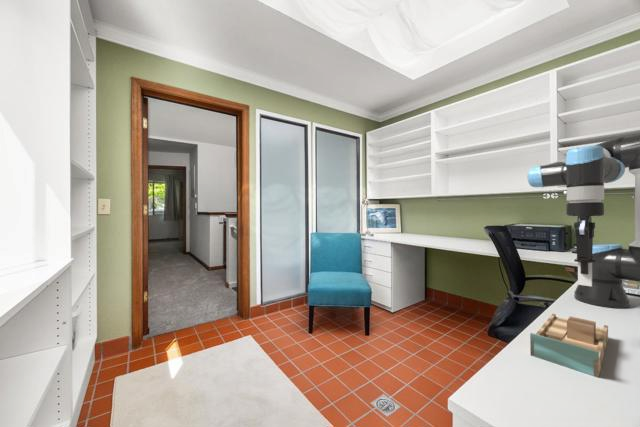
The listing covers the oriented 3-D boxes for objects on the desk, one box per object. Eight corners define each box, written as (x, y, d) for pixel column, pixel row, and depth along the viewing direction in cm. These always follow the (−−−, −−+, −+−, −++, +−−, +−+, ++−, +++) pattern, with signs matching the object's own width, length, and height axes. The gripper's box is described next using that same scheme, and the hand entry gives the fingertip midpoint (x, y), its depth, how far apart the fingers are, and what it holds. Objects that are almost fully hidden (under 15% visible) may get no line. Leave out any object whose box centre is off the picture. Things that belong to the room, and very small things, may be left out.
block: (570, 332, 74) (570, 316, 74) (595, 338, 70) (595, 321, 70) (566, 337, 71) (566, 321, 71) (593, 344, 67) (593, 327, 67)
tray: (552, 325, 84) (552, 308, 84) (608, 339, 75) (608, 319, 75) (530, 355, 67) (530, 333, 67) (598, 377, 58) (598, 352, 58)
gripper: (570, 202, 82) (570, 278, 82) (562, 202, 73) (562, 286, 73) (605, 201, 76) (606, 283, 76) (601, 201, 67) (602, 292, 68)
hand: (585, 284), depth 75 cm, fingers closed
